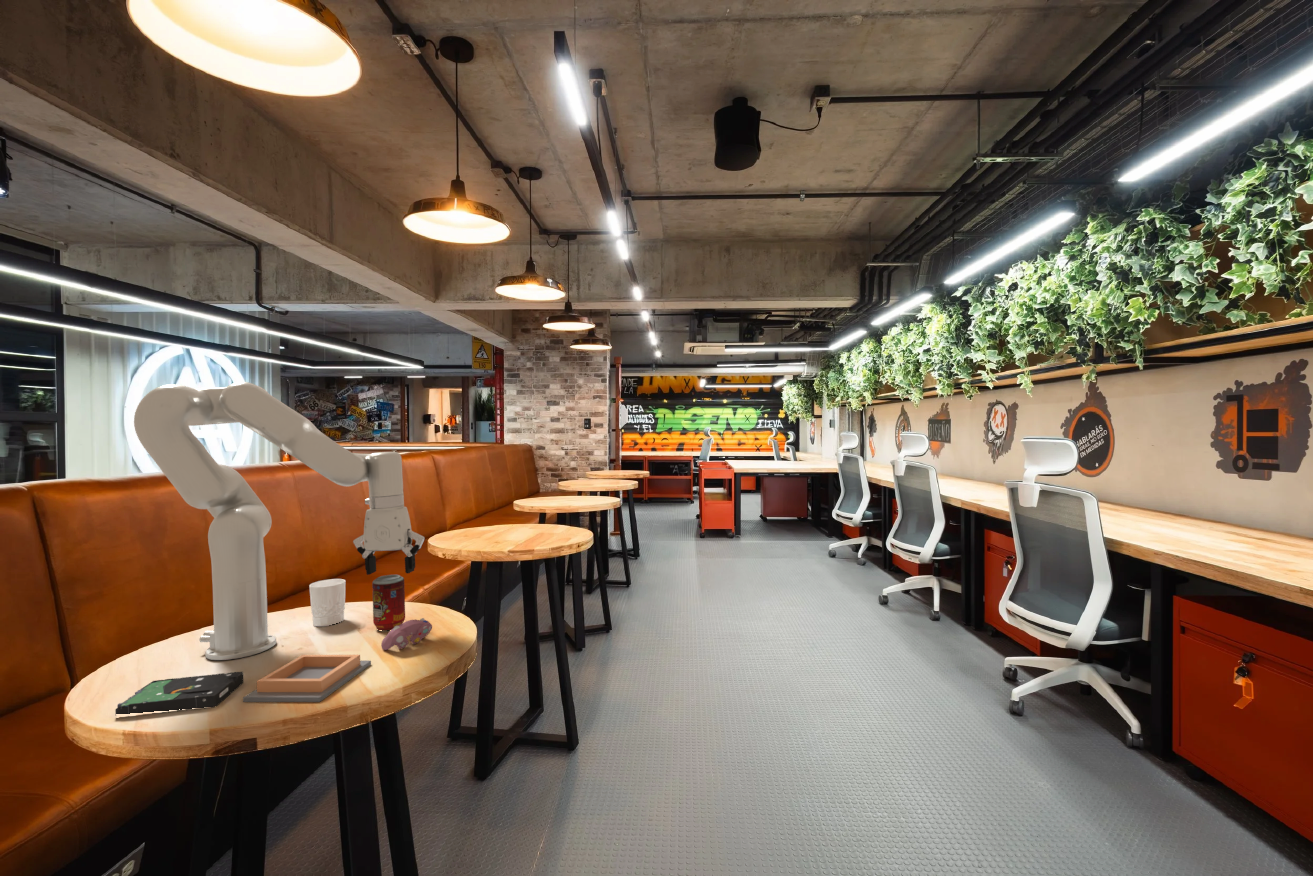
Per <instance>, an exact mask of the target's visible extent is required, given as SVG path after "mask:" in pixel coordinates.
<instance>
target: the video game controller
mask: <svg viewBox="0 0 1313 876" xmlns="http://www.w3.org/2000/svg"><path fill="white" fill-rule="evenodd" d="M432 630H433V624H432V623H431V622H430V621H429V620H426V619H425V618H424V617H422V618H420V619H410V620H406V621H404V622H403V624H401V625H399V626H395V627H394V628H393V629H392V630H391V631H388V633H387V635H386V636H385V637H383V639H382V640H381V649H382V650H383V651H388V650H389V649H391V648H392V647H394V646H396V647H397V648H398V649H399V650H402V649H405V648H406V647H407V646H408V644H409V641H410V642H411V643H412V645H417V644H419V643H420V642H422V640H423V639H424V638H426V637H427V636H428V634H430V633H431V631H432ZM409 636H410V639H409V640H408V639H407V638H408V637H409ZM416 643H417V644H416ZM401 648H402V649H401Z"/></svg>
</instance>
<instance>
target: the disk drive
mask: <svg viewBox="0 0 1313 876" xmlns="http://www.w3.org/2000/svg"><path fill="white" fill-rule="evenodd" d="M243 684H244V671H231V672H227V673H225V672H224V673H217V674H215V673H214V674H207V675H204V674H203V675H193V676H186V677H175V678H166V679H158V680H157V679H156V680H152V681H151V682H150V683H148V684H147V685H145V686H143V687H142V688H140V689H138V690H137V691H135V692H134V694H133V695H132V696H129V697H128V698H127V699H125V700H124V701H122V702H119V703H118V704H117V707H116V708H115V709H114V710H115V715H116V714H130V713H143V712H154V711H169V710H179V709H180V710H182V709H192V708H204V707H211V708H216V707H217V706H218V705H220V704H221V703H222V702H224V700H225V699H226V698H228V697H229V696H230V695H232V693H234V692H235V691H236V690H237V689H238V688H239V687H240V686H241V685H243ZM215 706H216V707H215ZM204 709H205V708H204Z"/></svg>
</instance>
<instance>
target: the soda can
mask: <svg viewBox="0 0 1313 876" xmlns="http://www.w3.org/2000/svg"><path fill="white" fill-rule="evenodd" d="M371 587H372V614H373V615H372V618H373V620H372V622H373V625H374V626H375V628H376V630H377V629H378V630H382V631H381V632H387V631H386V630H392V629H393V628H394V627H395V626H399V625H401V624H403V623H404V622H405V620H406V601H405V599H406V596H405V595H406V594H405V578H404V577H403V576H401V575H400V574H386V575H381V576H378V577H376V578H375V579H373V581H372V584H371ZM378 630H377V631H378Z"/></svg>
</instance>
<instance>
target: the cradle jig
mask: <svg viewBox="0 0 1313 876" xmlns="http://www.w3.org/2000/svg"><path fill="white" fill-rule="evenodd" d="M371 665H372V661H371V660H361V654H301V655H299V656H298V657H296V658H294V659H293V660H291V661H289V662H288V663H285V664H284V665H282V666H280V667H279V668H277V669H276V670H273V671H272V672H270V673H268V674H267V675H265V676H263V677H261V678H260V679H258V680H257V681H256V689H254V690H253V691H251V692H249V693H248V694H246V695H245V696H243V697H242V703H320V702H322V701H323V700H325V699H326V698H328V697H329V696H330V695H331V694H333V693H334V692H335V691H336V690H338V689H340V688H341V687H342V686H344V685H345V684H346V683H348V682H349V681H351V680H352V679H353V678H355V677H356V676H357V675H358V674H360V673H361V672H362V671H364V670H365V669H367V668H368V667H370V666H371Z"/></svg>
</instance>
